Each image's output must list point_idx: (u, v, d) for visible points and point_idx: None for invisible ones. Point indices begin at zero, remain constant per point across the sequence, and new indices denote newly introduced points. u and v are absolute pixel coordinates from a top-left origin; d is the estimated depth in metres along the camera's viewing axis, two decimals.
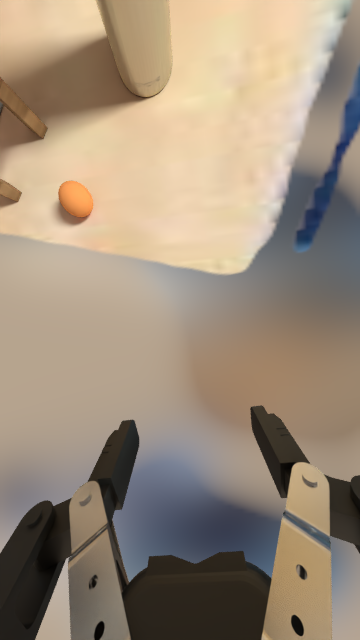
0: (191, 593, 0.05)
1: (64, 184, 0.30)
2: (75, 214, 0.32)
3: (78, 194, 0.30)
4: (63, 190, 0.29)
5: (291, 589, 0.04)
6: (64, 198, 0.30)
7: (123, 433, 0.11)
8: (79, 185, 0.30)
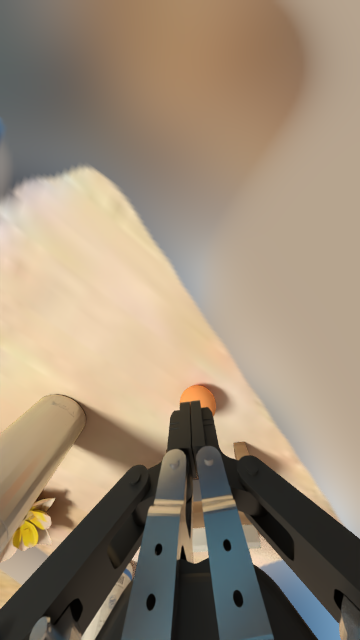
0: (191, 593, 0.05)
1: None
2: (212, 398, 0.26)
3: None
4: None
5: (226, 570, 0.05)
6: None
7: (186, 412, 0.11)
8: None
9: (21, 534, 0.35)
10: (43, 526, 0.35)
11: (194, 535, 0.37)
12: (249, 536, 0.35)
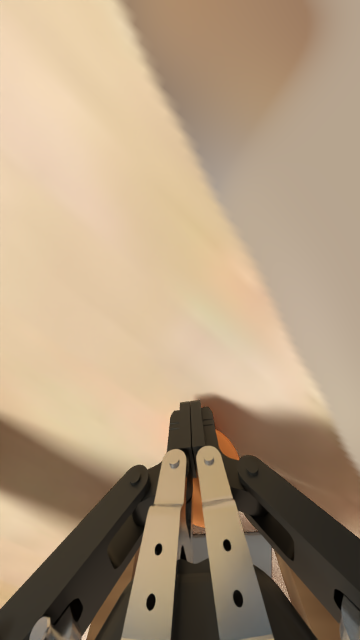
0: (191, 593, 0.05)
1: None
2: None
3: None
4: None
5: (226, 570, 0.05)
6: None
7: (186, 412, 0.11)
8: None
9: None
10: None
11: None
12: None
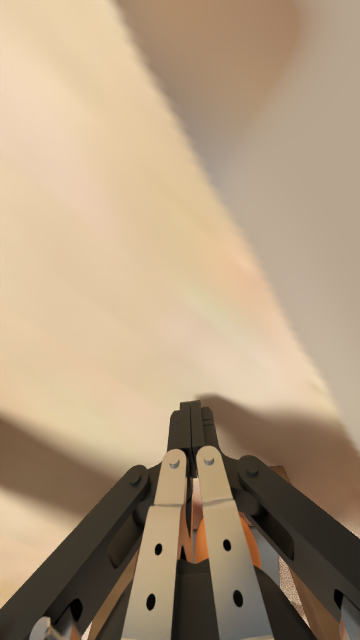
0: (191, 593, 0.05)
1: None
2: (252, 536, 0.15)
3: None
4: None
5: (226, 570, 0.05)
6: None
7: (186, 412, 0.11)
8: (198, 560, 0.14)
9: None
10: None
11: None
12: None
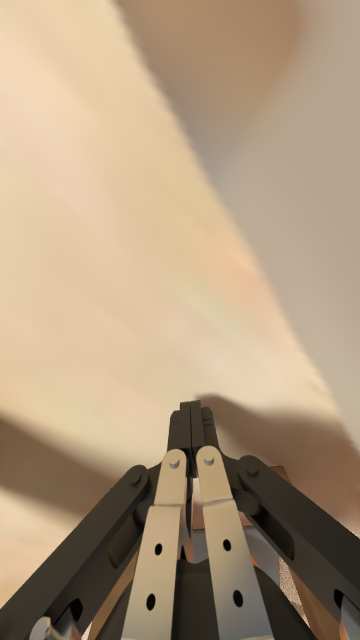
0: (191, 593, 0.05)
1: None
2: None
3: None
4: None
5: (226, 570, 0.05)
6: None
7: (186, 412, 0.11)
8: None
9: None
10: None
11: None
12: None
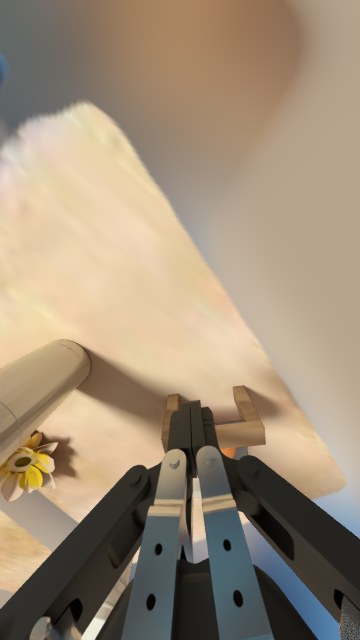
0: (191, 593, 0.05)
1: None
2: (235, 448, 0.32)
3: None
4: None
5: (226, 570, 0.05)
6: None
7: (186, 412, 0.11)
8: None
9: (27, 477, 0.37)
10: (47, 470, 0.37)
11: (197, 483, 0.38)
12: None
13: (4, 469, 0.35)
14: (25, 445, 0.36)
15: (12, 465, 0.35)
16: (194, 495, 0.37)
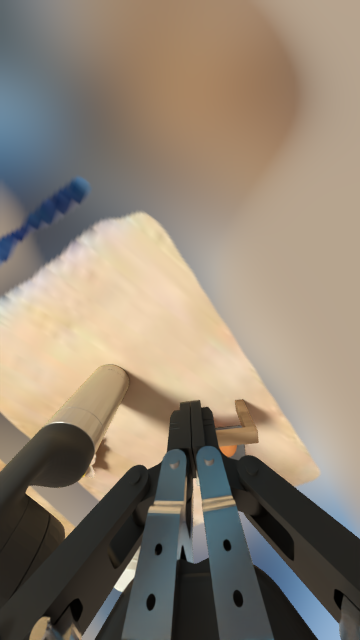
0: (191, 593, 0.05)
1: None
2: (236, 446, 0.43)
3: None
4: None
5: (226, 570, 0.05)
6: None
7: (186, 412, 0.11)
8: None
9: None
10: None
11: None
12: None
13: None
14: None
15: None
16: None
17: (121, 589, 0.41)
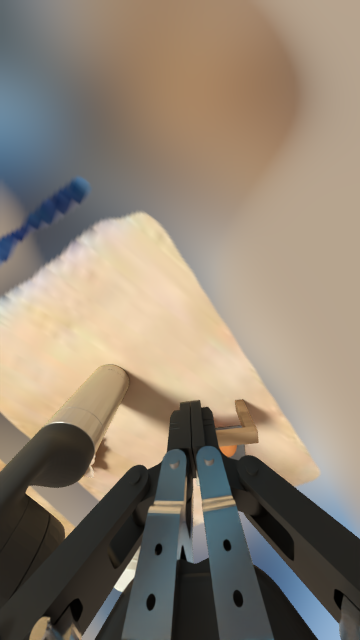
0: (191, 593, 0.05)
1: None
2: (236, 446, 0.43)
3: None
4: None
5: (226, 570, 0.05)
6: None
7: (186, 412, 0.11)
8: None
9: None
10: None
11: None
12: None
13: None
14: None
15: None
16: None
17: (121, 589, 0.41)
